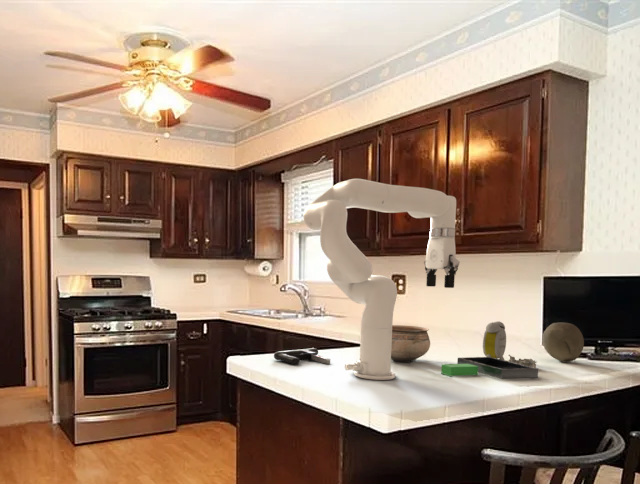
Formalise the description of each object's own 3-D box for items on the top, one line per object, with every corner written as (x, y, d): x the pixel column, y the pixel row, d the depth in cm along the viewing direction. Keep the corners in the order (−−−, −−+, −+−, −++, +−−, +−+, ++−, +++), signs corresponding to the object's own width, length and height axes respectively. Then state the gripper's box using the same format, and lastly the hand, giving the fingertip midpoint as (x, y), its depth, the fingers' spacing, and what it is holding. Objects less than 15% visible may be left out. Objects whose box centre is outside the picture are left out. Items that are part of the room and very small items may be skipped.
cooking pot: (400, 354, 215) (401, 323, 214) (443, 361, 200) (445, 328, 199) (360, 359, 199) (361, 326, 198) (405, 368, 184) (406, 332, 183)
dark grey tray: (501, 380, 167) (502, 369, 167) (457, 367, 188) (457, 357, 188) (537, 379, 170) (538, 368, 170) (490, 366, 191) (490, 356, 191)
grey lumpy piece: (506, 365, 195) (507, 354, 195) (529, 366, 193) (530, 355, 193) (513, 370, 185) (514, 358, 184) (537, 372, 183) (538, 360, 182)
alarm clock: (491, 358, 208) (493, 320, 207) (510, 361, 204) (512, 321, 203) (481, 362, 199) (483, 322, 198) (500, 365, 195) (503, 323, 194)
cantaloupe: (589, 362, 205) (592, 323, 204) (572, 365, 197) (575, 325, 196) (551, 357, 216) (553, 320, 215) (533, 359, 208) (535, 321, 207)
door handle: (342, 355, 192) (311, 346, 205) (300, 360, 180) (270, 350, 193) (341, 364, 192) (310, 355, 205) (299, 370, 181) (269, 359, 194)
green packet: (450, 377, 171) (451, 367, 170) (441, 373, 175) (441, 364, 175) (477, 376, 173) (478, 366, 173) (467, 373, 178) (467, 363, 178)
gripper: (417, 235, 182) (414, 285, 183) (448, 232, 166) (446, 288, 167) (436, 236, 184) (434, 286, 185) (469, 233, 168) (467, 288, 169)
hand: (439, 287), depth 176 cm, fingers open, 9 cm apart
